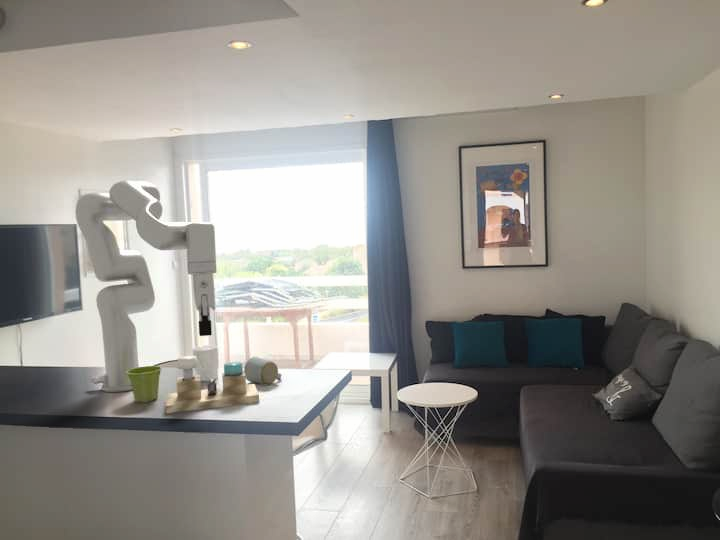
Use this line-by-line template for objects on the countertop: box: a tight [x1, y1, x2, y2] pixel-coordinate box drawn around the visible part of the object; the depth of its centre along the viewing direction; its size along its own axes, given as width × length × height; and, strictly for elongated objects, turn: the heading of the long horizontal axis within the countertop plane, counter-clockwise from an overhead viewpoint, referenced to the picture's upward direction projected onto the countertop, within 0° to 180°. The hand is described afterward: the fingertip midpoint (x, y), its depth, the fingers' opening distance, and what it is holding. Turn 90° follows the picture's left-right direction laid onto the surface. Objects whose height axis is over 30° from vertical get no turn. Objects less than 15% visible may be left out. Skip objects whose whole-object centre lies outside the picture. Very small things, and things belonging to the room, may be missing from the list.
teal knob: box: [223, 361, 244, 376], centre depth 160 cm, size 5×5×8 cm
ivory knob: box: [177, 355, 197, 381], centre depth 157 cm, size 5×5×8 cm
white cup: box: [192, 344, 219, 382], centre depth 185 cm, size 8×8×10 cm
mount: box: [165, 369, 260, 414], centre depth 159 cm, size 24×12×7 cm, turn 106°
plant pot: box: [126, 365, 163, 403], centre depth 164 cm, size 9×9×9 cm
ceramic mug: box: [243, 356, 282, 385], centre depth 177 cm, size 11×8×8 cm
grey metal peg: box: [206, 379, 218, 396], centre depth 159 cm, size 2×2×4 cm
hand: (205, 335), depth 158 cm, fingers closed
